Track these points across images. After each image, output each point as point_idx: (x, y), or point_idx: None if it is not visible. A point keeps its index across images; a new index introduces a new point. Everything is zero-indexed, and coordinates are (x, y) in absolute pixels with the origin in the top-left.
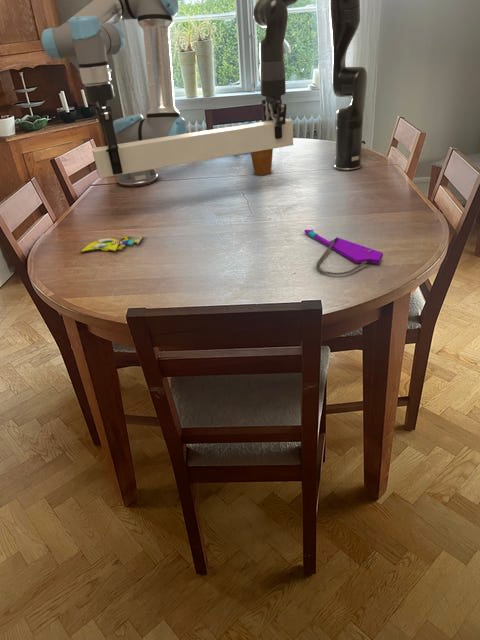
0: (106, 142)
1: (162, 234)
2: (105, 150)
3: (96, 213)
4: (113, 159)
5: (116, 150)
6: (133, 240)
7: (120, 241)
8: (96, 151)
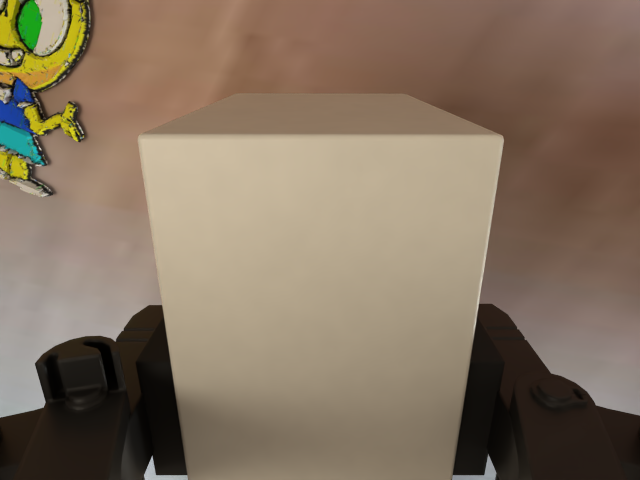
0: (515, 436)
1: (76, 272)
2: (167, 338)
3: (535, 20)
4: (123, 335)
5: (154, 455)
6: (9, 151)
7: (3, 91)
8: (149, 195)
